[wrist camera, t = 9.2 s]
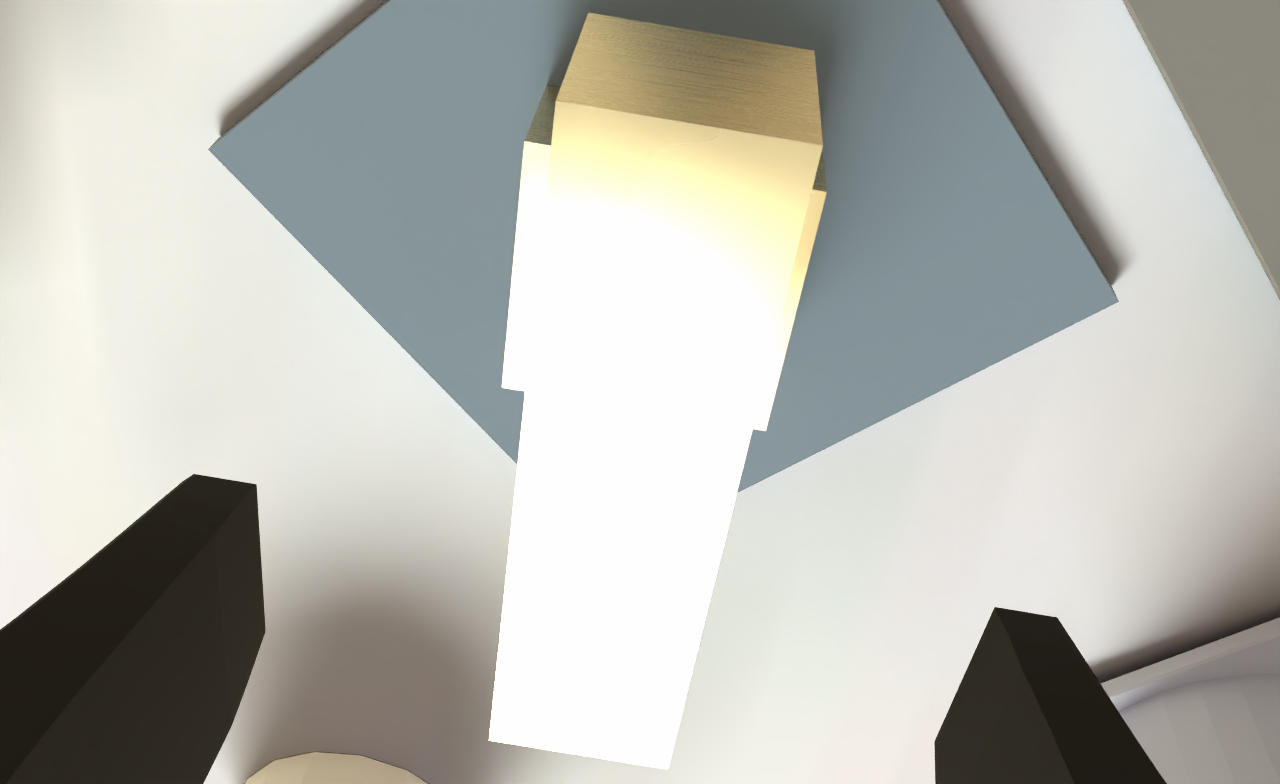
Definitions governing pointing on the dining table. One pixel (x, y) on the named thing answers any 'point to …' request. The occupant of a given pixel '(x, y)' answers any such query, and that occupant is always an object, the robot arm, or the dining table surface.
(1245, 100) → the cover plate
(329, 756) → the beige cylinder
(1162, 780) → the robot arm
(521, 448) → the t key
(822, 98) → the pad
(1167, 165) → the dining table surface
